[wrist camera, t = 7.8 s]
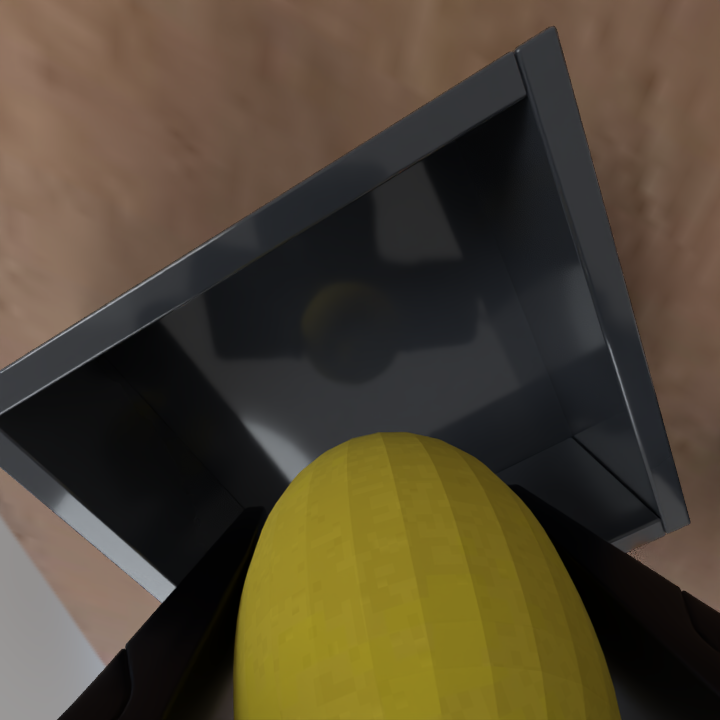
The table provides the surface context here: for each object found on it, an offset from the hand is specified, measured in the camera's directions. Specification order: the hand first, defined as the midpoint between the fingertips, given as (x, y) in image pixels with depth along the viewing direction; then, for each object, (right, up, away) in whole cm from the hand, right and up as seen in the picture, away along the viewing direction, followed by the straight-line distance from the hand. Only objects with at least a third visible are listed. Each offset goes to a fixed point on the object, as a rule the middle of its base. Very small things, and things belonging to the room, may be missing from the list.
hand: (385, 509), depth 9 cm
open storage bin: (-1, +2, +6) cm, 6 cm away
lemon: (0, +1, +2) cm, 2 cm away
